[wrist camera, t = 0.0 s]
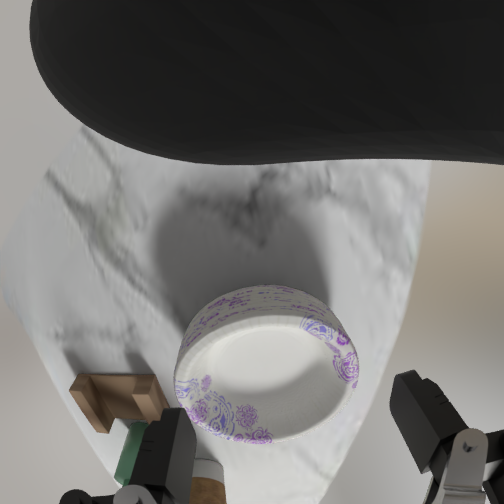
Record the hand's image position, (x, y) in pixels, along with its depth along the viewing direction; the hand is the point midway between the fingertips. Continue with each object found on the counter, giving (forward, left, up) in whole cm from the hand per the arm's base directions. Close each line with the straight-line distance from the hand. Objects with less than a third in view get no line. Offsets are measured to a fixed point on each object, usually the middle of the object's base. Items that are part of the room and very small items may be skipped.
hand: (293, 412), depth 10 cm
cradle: (+16, -19, -17) cm, 30 cm away
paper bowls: (+9, -1, -18) cm, 20 cm away
